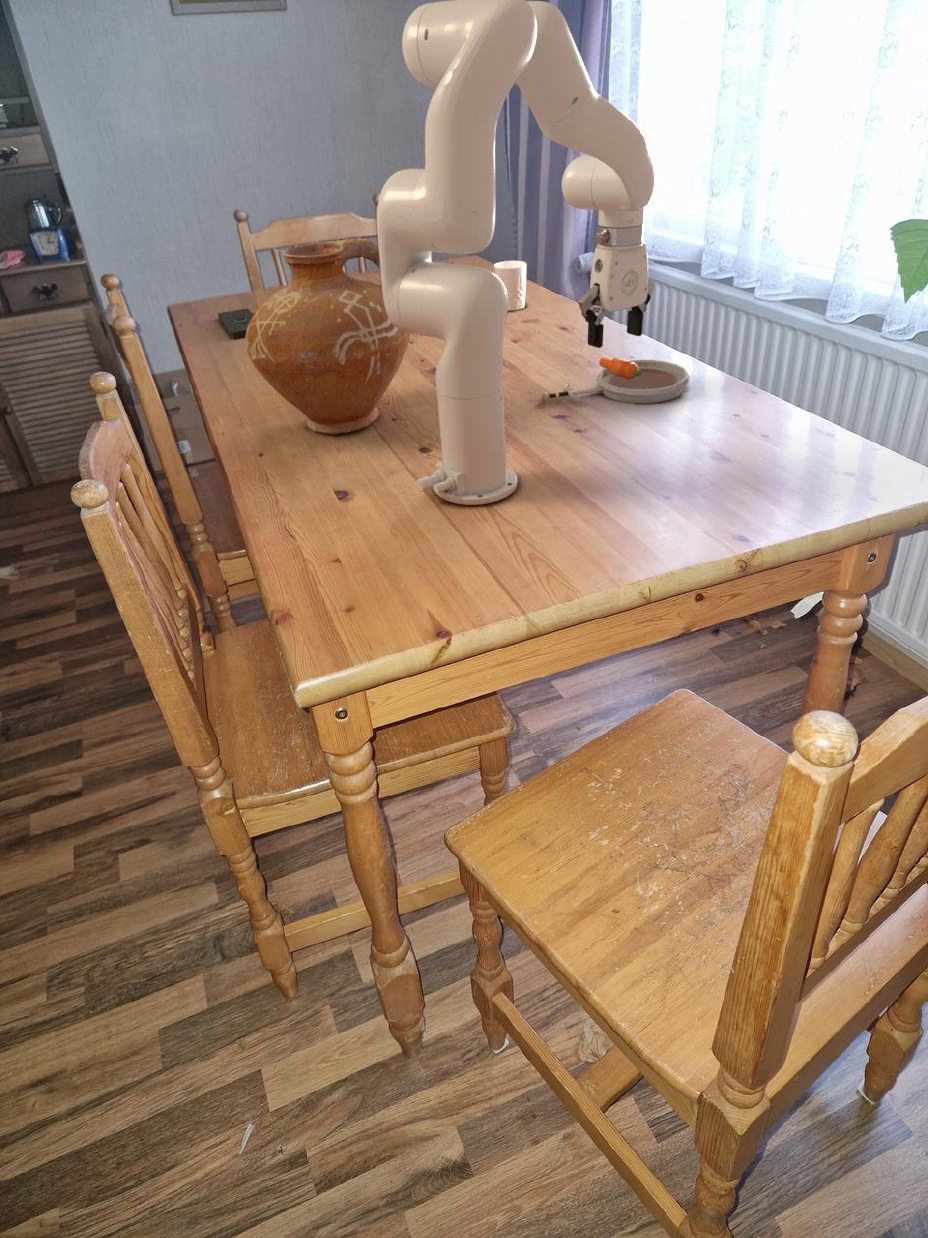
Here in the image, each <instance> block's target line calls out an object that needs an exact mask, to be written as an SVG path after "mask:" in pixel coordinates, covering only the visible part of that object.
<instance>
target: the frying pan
mask: <svg viewBox="0 0 928 1238" xmlns="http://www.w3.org/2000/svg"><path fill="white" fill-rule="evenodd" d="M628 361H630V362H634V363H635V364H637V366H638V368H639V370H641V372H642V374H641V376H639V377H638V376H636V377H635V378H633V379H626V378H623V377H620V376H617V375H614V374H612V373H611V372H610V371H609V369H607V368H604V367H603V368H602V369H601V370H599V372H598V374H597V376H596V379H595V380H596V382H597V384H598V386H595V387H588V388H581V389H574V390H569V388H570V386H571V385H570V384H571V383H570V382H568V383H566V385H565V386H564V387H563V391H561V392H554V393H548V392H546V391H544V392H543V393H542V394H541V400H542V401H543V402H548V401H549V400H550V399H554V398H562V397H568V398H569V399H570V400H571V401H574V402H577V403H580V404H582V402H583V398H582V397H579V396H576V395H583V394H591V393H599V392H601V394H603V395H604V396H605V397H607V398H608V399H611V400H614V401H618V402H623V403H629V404H654V403H655V404H656V403H662V402H666V401H670V400H673V399H675V398H677V397H679V396H681V395H682V394H683V393H684V391H685V390H686V387H687V385H688V384H689V383H690V378H691V376H690V375H689V373H688V371H687V369H686V368H684V367H683V366H681V365H680V364H679V365H678V364H677V363H673V362H670V361H669V362H668V361H665V360H658V359H631V360H630V359H629V360H628Z"/></svg>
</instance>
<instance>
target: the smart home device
mask: <svg viewBox="0 0 928 1238" xmlns="http://www.w3.org/2000/svg"><path fill="white" fill-rule="evenodd" d="M217 316H218V321H219V323H220V324H221V325H222V327H223V328H224V329H225V331H226V333H227V334H228V335H229V336H230V338H231V339H233V340H236V339H242V338H245V337H246V330H247V327H248V324H249V322H250V320H251V319H252V317H253V316H254V313H253V312H252V311H251V310H250V309H249V308H247V307H246V308H241V309H234V310H229V311H223V312H219V313H217Z"/></svg>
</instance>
